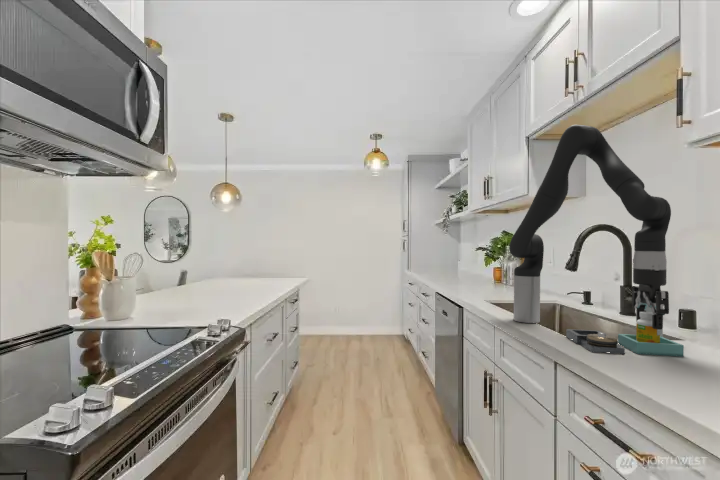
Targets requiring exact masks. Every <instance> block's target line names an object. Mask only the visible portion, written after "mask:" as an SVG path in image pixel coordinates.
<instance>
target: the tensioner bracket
mask: <svg viewBox="0 0 720 480" xmlns="http://www.w3.org/2000/svg"><path fill="white" fill-rule="evenodd" d="M565 330H566V331H565V332H566V334H565V335H566V338H567V339H569V340H570V339H573V340H571V341H572V342H573V343H575V344H576V345H580V346H581V347H583V348H584V349H586V350H588V351H589V352H591V353H596V352H610V353H609V354H613V353H620V354H619V355H625V353H626V352H625V350H626V348H625V347H623V346H621V345H619V344H618V337H615V336H613V335H608V334H607V333H606V332H603V331H600V330H595V329H593V330H592V329H591V330H589V329H572V328H566V329H565Z"/></svg>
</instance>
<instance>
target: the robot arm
mask: <svg viewBox="0 0 720 480" xmlns="http://www.w3.org/2000/svg"><path fill="white" fill-rule="evenodd" d="M578 155H580V156H582V155H583V156H586V157H588V158H589V159H590V160H592V161H593V162H594V163H595V164H596V165H597V166H598V168H599V171H600V173H601V175H602V179H603V180H604V182H605V183H606V185H607V186H608V187H609V188H610V189H611V190H612V191H613V192H614V194H616V196H618V198H620V200H621V203H622V204H623V206H624V208H625V210H626V211H627V212H628V214H629V215H631V216H632V217H633V218H634V219H636V220H637V221H640V222H641V221H642V226H641V229H640V230H637V231H636V233H635V234H634V246H633V247H634V253H633V257H632V258H633V261H632V262H633V263H632V271H633V272H632V282H633V284H634V285H635V286H632V289H631V291H632V292H631V306H632V307H634V309H635V310H636V313H635V314H636V319H635V322H637V320H639V319H640V316H639V314H640V312H646V308H647V306H648V307H649V308H651V310H652V313H653V315H652V328H654V329H663V328H664V316H665V315H668V314H670V304H669V302H670V301H669V299H670V297H669V291H668V290H661V287H662V286H666V285H667V263H668V262H667V253H666V235H667V233H668V230H669V226H670V225H669V224H670V222H671V217H672V208H671V205H670V203H669V202H668V200H667V199H665V198H663V197H660V196H653V195H651V194H650V193H648V192H647V190H645V188H646V187H645V183H644V182H643V180H642V179H641V178H640V177H639V176H638V175H637V174H636V173H635V172H633V170H632V169H630V167H628V166H627V165H626V164H625V163H624V162H623V161H622V159H621V158H620V157H619V156H618V155H617V154H616V152H615V151H614V150H613V148H612V147H611V146H610V144H609V143H608V141H607V139H606V137H604V135H603V134H602V132H601V131H600V130H599V129H598V128H597V127H595V126H591V125H584V124H572V125H570V126H568V127H567V128H566V129H565V130H564V131H563V133H562V135H561V136H560V139H559V142H558V144H557V146H556V150H555V152H554V154H553V157H552V160H551V163H550V165H549V167H548V169H547V171H546V173H545V176H544V178H543V180H542V182H541V184H540V185H539V188H538V190H537V191H536V193H535V194H534V197H533V200H532V201H531V205H530V206H529V208H528V210H527V212H526V214H525V216H524V217H523V219H522V221H521V223H520V224H519V226H518V227H517V229H516V230H515V232H514V234H513V235H512V237H511V240H510V243H509V252H510V255H511V256H513V257H514V258H518V259H523V262H522V263H521V264H520V265H519V266H516V267H515V268H514V272H513V321H515V322H520V323H527V324H538V323H540V321H541V320H540V319H541V316H540V315H541V273H542V270H543V265H544V252H545V251H544V250H545V247H544V246H545V245H544V241H543V238H542V237H541V236H540V235H539V234H536V232H537V231H538V230H539V228H540V227H541V226H542V225H544V224H545V223H546V222H548V221H549V220H550V219H551V218H553V217H554V216H555V215H556V213H558V212H559V210H560V209H561V207H562V206H563V203H564V201H565V200H566V198H567V196H568V192H569V173H570V170H571V168H572V166H573V165H572V164H573V163H574V161H575V159H576V158H577V156H578ZM636 285H638V286H636ZM655 308H656V309H655Z"/></svg>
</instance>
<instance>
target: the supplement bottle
mask: <svg viewBox="0 0 720 480" xmlns="http://www.w3.org/2000/svg"><path fill="white" fill-rule="evenodd" d="M652 315H653V313H652V312H640V314H639V316H640V319H639V320H637V322H636V321H635V322H636V323H635V324H636V326H635V327H636V328H635V329H636V331H635V335H636V341H638V342H648V343H660V329H654V328H652Z"/></svg>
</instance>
